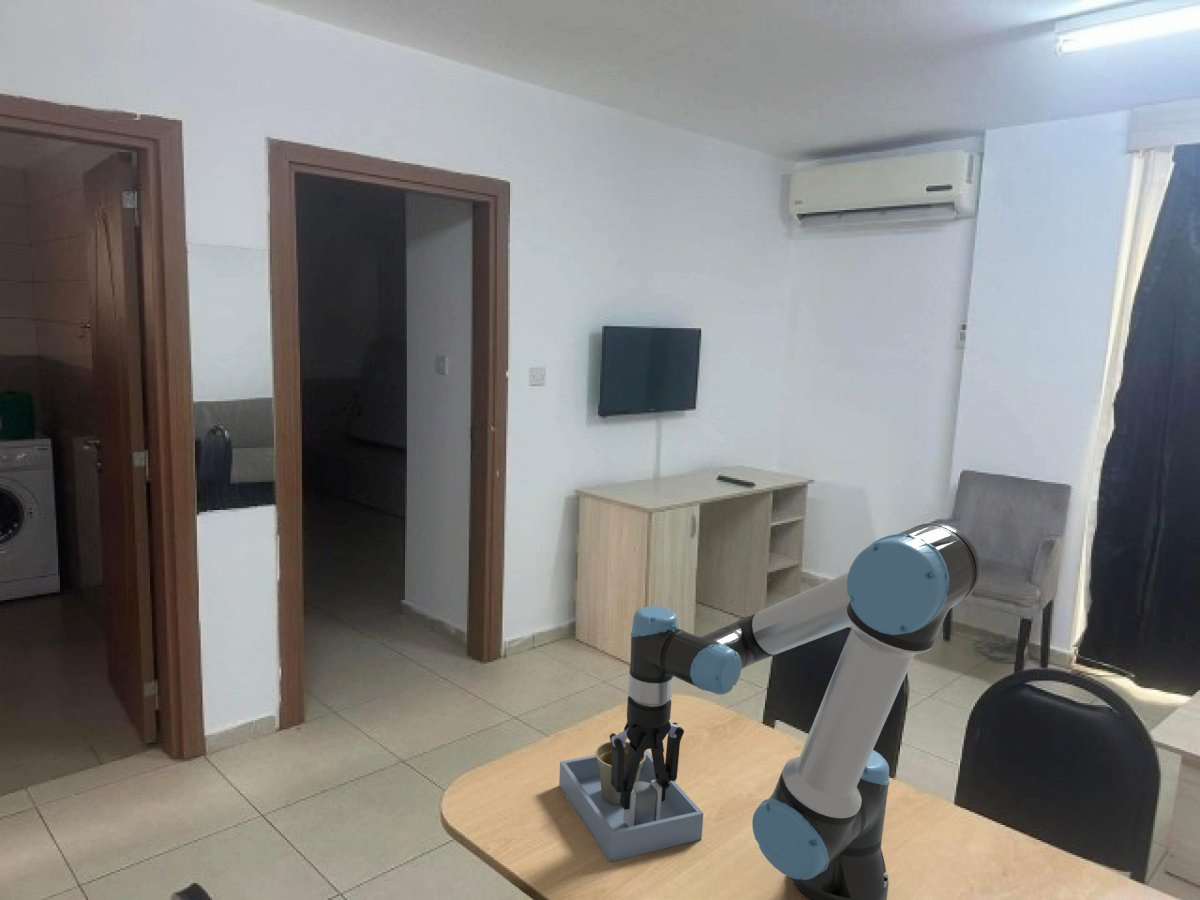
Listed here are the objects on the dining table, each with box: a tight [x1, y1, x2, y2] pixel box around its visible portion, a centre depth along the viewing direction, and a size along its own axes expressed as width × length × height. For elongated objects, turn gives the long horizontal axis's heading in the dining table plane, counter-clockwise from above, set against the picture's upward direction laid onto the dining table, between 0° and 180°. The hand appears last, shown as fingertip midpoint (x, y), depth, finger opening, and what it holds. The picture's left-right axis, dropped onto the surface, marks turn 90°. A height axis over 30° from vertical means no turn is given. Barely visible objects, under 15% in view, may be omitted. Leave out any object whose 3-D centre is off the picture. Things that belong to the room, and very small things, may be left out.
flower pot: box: [594, 741, 646, 805], centre depth 154 cm, size 9×9×9 cm
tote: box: [558, 749, 704, 862], centre depth 150 cm, size 24×18×5 cm
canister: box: [626, 782, 656, 828], centre depth 145 cm, size 5×5×7 cm
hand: (641, 820), depth 145 cm, fingers closed on canister, 4 cm apart
